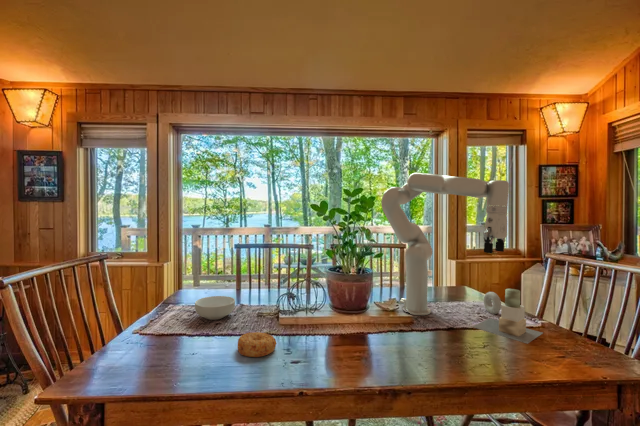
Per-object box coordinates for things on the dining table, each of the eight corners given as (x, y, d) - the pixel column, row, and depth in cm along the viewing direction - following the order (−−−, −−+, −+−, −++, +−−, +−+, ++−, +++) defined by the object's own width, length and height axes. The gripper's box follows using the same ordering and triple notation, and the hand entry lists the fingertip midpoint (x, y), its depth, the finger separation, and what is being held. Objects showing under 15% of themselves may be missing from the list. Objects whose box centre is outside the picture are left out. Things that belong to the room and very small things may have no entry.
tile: (471, 328, 130) (471, 326, 130) (489, 319, 140) (489, 318, 140) (527, 345, 114) (527, 343, 114) (543, 334, 124) (543, 332, 124)
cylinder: (502, 305, 126) (503, 290, 125) (508, 303, 129) (508, 288, 129) (517, 308, 122) (517, 292, 122) (522, 306, 125) (522, 290, 125)
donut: (502, 317, 143) (503, 294, 143) (495, 317, 142) (496, 295, 142) (488, 310, 153) (488, 289, 153) (481, 310, 152) (482, 289, 152)
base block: (498, 330, 126) (499, 317, 126) (506, 326, 130) (506, 314, 130) (518, 336, 120) (518, 323, 120) (525, 331, 125) (526, 319, 125)
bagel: (253, 363, 100) (253, 347, 100) (228, 350, 109) (228, 336, 108) (284, 350, 110) (284, 335, 109) (258, 339, 118) (258, 325, 118)
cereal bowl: (228, 324, 132) (228, 307, 132) (188, 323, 133) (188, 306, 132) (239, 310, 149) (239, 295, 149) (203, 310, 150) (203, 295, 149)
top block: (501, 318, 126) (501, 305, 126) (507, 314, 129) (507, 302, 129) (518, 322, 121) (518, 309, 121) (524, 319, 125) (524, 306, 125)
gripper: (496, 210, 124) (493, 255, 125) (515, 211, 134) (512, 252, 135) (476, 209, 130) (474, 252, 131) (497, 210, 140) (494, 249, 141)
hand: (493, 252), depth 133 cm, fingers open, 9 cm apart
